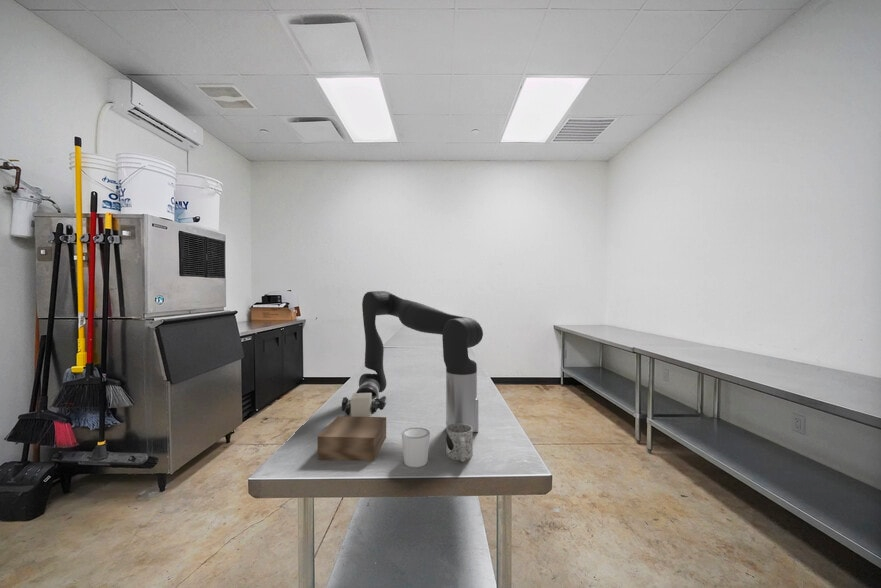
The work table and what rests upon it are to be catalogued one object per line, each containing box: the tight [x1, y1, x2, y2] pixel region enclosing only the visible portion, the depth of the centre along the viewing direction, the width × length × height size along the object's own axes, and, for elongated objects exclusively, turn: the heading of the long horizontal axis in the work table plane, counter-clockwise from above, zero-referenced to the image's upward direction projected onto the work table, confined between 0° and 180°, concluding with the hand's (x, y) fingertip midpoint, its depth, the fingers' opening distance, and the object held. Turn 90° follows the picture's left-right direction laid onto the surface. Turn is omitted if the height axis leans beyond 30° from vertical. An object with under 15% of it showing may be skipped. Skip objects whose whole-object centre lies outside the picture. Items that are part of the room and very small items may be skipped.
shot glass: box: [401, 427, 431, 468], centre depth 83 cm, size 7×7×7 cm
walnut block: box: [317, 415, 387, 462], centre depth 91 cm, size 14×14×6 cm
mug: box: [445, 423, 474, 463], centre depth 85 cm, size 10×7×7 cm, turn 4°
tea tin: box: [350, 392, 373, 417], centre depth 104 cm, size 5×5×10 cm
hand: (360, 411), depth 101 cm, fingers open, 6 cm apart
